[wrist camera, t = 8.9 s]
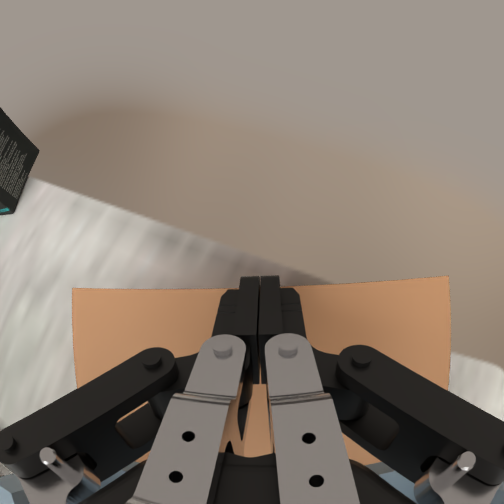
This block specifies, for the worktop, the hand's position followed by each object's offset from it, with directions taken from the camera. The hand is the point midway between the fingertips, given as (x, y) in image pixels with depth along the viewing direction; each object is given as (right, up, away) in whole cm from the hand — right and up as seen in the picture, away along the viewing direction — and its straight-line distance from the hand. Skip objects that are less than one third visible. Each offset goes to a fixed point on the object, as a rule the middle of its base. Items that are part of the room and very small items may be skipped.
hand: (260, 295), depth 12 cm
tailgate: (0, -9, -1) cm, 9 cm away
